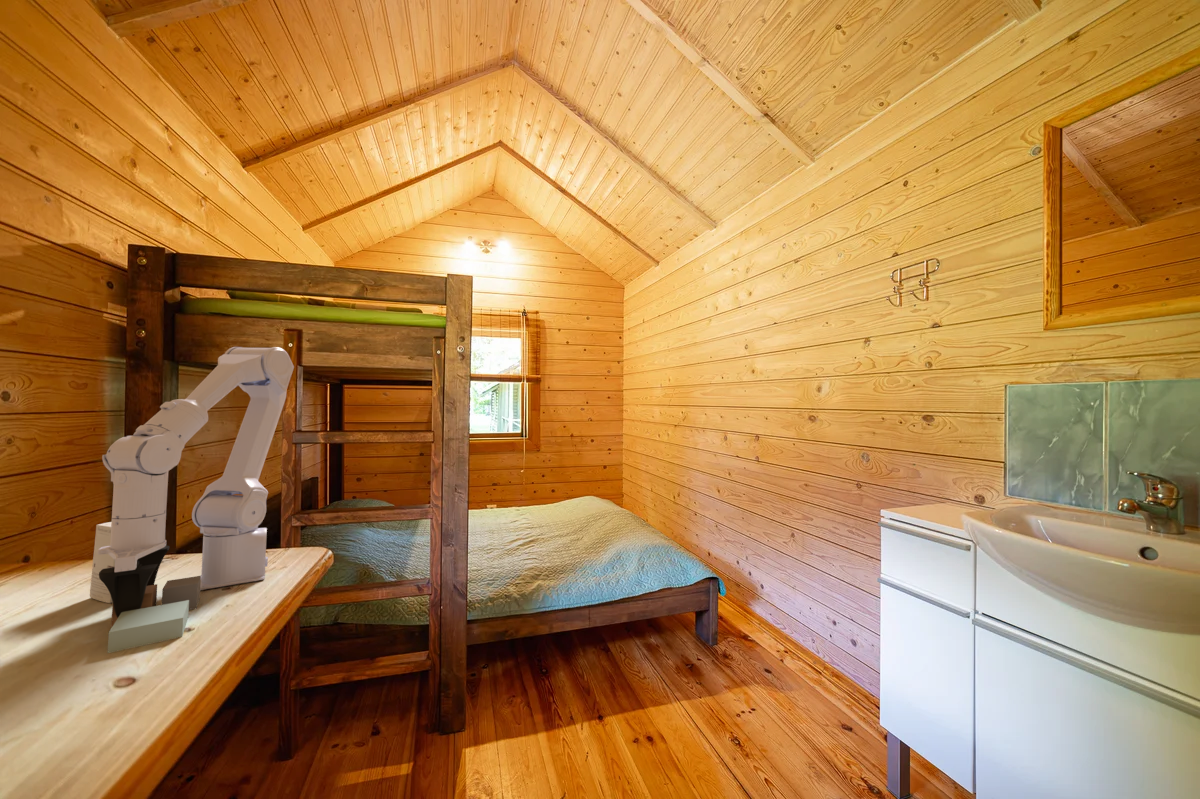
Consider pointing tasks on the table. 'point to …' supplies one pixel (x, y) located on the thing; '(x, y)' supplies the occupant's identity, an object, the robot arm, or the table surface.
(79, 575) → the table surface
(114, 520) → the robot arm
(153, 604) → the walnut cube
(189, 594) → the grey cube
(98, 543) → the skincare box
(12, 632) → the table surface
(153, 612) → the base block
